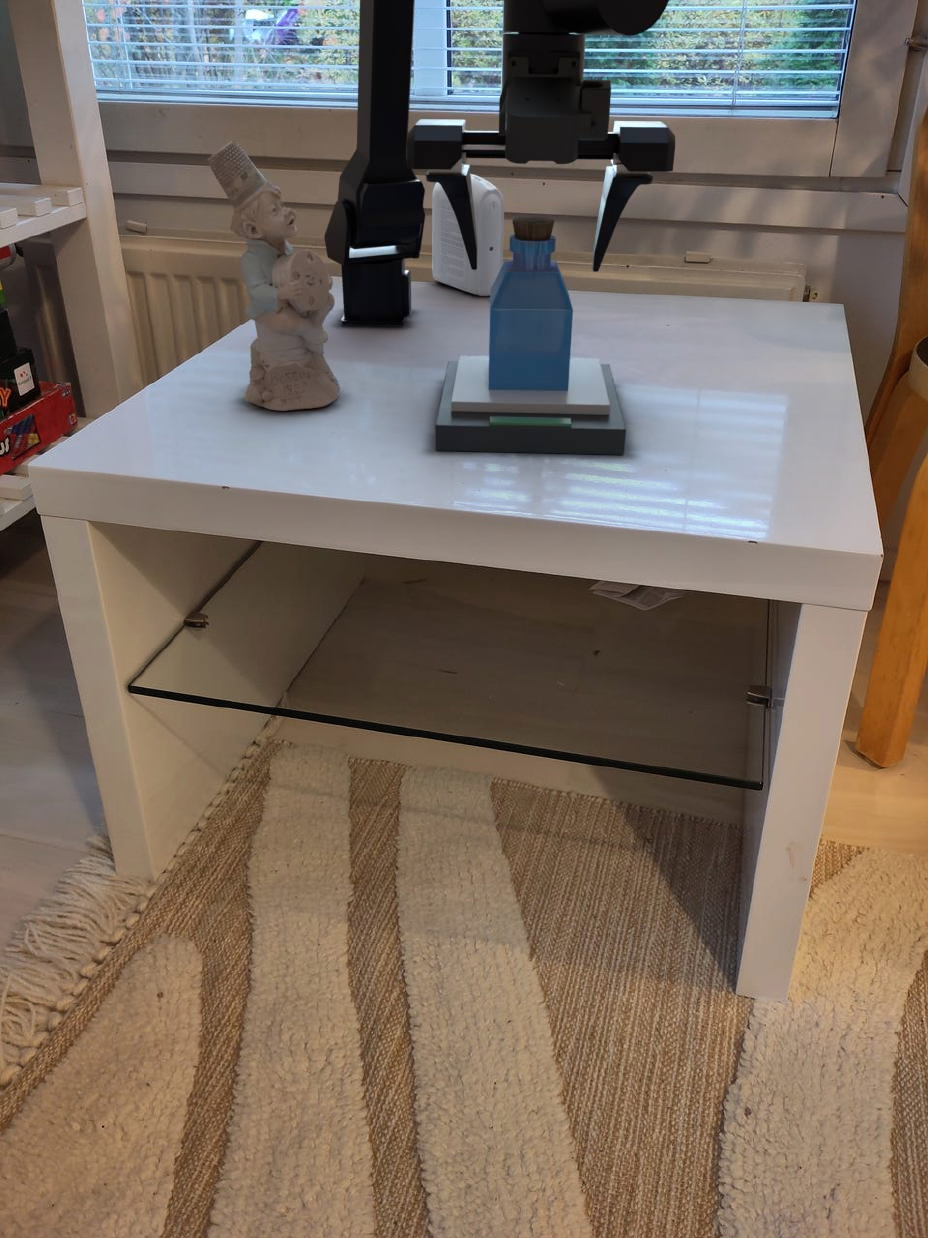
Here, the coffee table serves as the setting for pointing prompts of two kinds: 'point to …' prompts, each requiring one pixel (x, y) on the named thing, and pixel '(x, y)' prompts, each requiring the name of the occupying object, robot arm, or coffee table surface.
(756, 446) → the coffee table surface
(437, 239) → the photo printer
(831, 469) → the coffee table surface
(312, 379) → the figurine
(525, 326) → the perfume bottle
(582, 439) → the scale
